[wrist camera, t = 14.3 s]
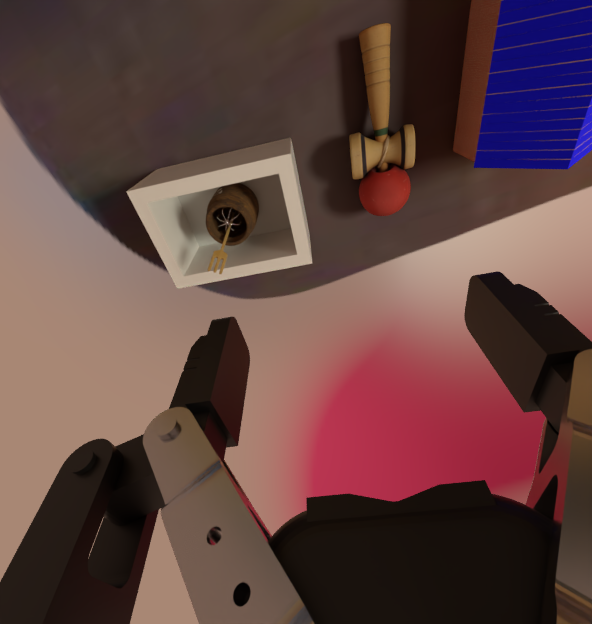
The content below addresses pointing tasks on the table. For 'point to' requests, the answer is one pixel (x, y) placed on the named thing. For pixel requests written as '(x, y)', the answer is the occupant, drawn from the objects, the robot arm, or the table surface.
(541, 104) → the house
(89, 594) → the robot arm
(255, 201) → the utensil holder
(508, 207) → the table surface
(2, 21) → the table surface
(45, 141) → the table surface
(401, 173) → the kendama
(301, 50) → the table surface
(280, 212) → the open rectangular box
